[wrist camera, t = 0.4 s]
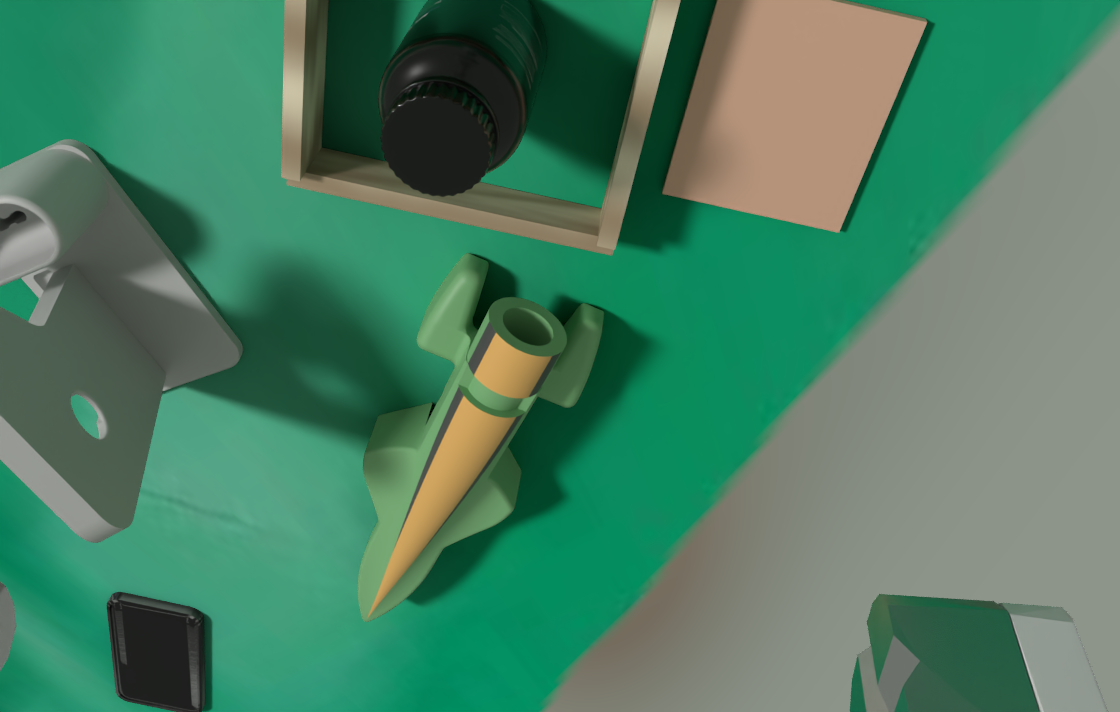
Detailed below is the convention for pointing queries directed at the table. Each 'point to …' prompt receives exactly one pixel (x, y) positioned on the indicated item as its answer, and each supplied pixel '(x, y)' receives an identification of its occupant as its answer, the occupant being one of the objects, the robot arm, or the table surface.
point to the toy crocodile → (464, 428)
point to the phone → (157, 652)
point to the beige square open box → (484, 201)
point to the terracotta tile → (790, 106)
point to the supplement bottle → (460, 92)
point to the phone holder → (92, 336)
